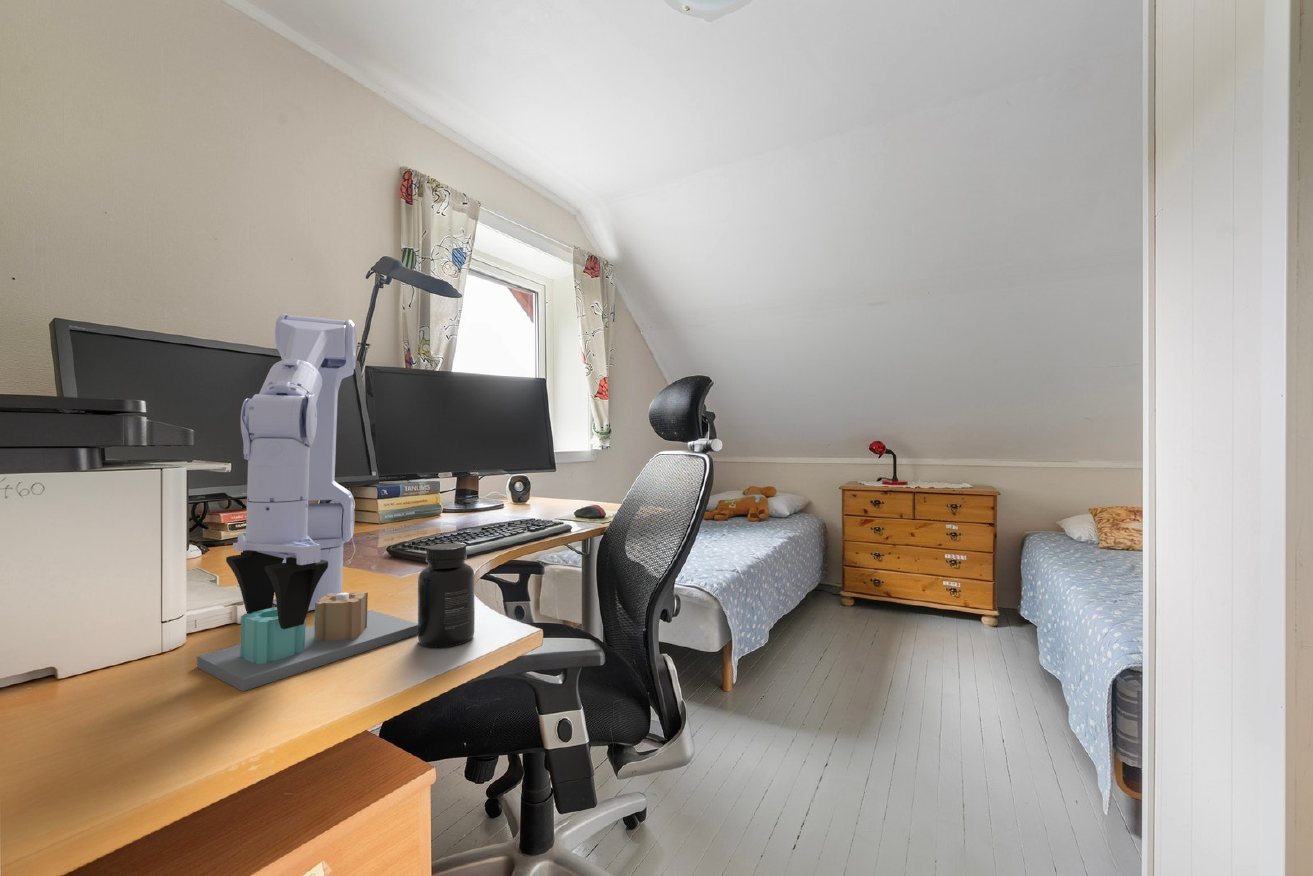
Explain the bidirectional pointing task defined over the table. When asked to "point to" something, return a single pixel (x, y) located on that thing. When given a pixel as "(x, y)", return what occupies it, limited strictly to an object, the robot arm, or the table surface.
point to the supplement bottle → (446, 597)
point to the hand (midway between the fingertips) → (275, 620)
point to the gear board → (315, 642)
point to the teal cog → (269, 637)
